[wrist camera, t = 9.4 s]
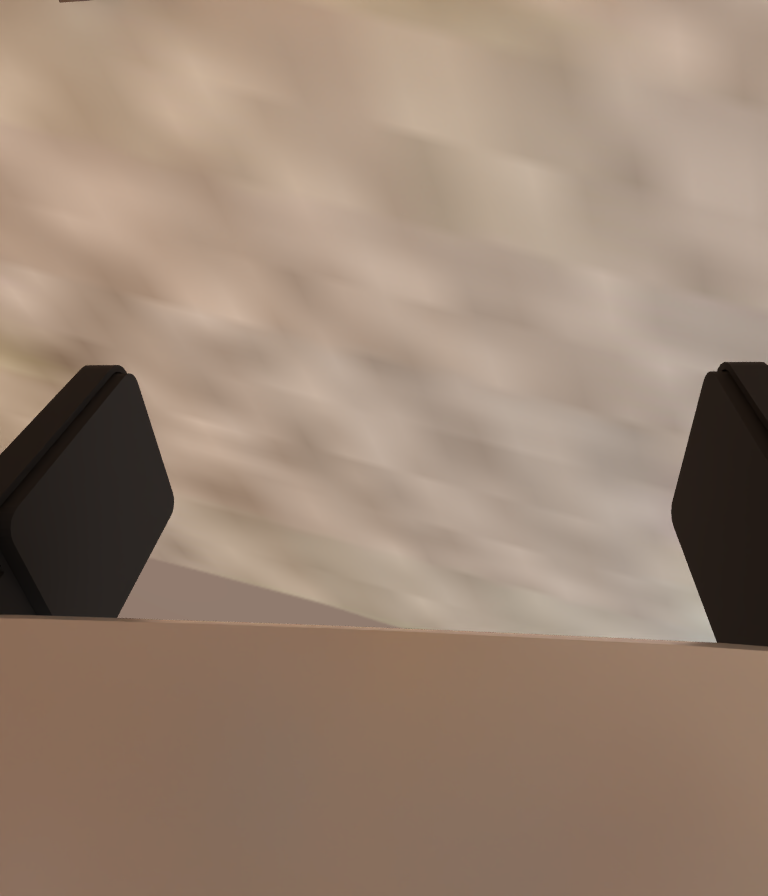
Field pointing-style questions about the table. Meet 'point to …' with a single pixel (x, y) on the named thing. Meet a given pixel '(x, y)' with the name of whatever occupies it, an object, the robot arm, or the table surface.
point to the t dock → (71, 0)
